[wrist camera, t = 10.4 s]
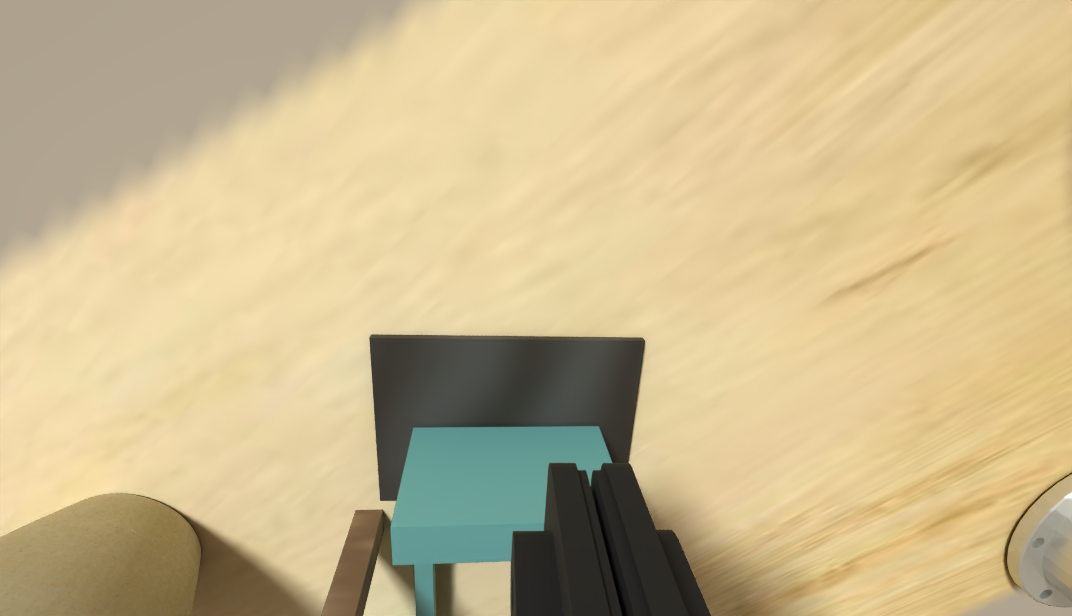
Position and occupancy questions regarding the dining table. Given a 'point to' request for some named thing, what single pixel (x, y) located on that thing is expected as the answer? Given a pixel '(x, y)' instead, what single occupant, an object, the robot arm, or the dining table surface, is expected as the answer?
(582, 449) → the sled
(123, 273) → the dining table surface
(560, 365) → the tunnel
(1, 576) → the plant pot
